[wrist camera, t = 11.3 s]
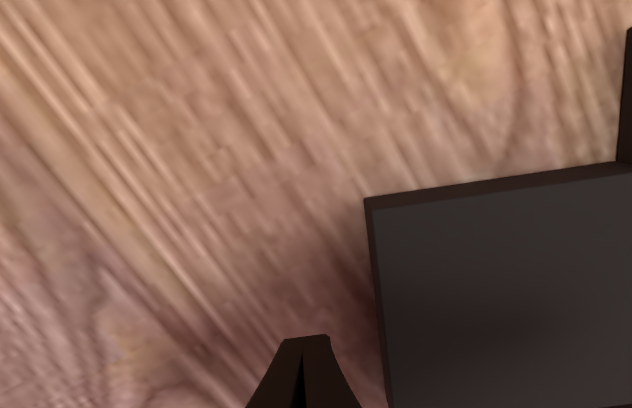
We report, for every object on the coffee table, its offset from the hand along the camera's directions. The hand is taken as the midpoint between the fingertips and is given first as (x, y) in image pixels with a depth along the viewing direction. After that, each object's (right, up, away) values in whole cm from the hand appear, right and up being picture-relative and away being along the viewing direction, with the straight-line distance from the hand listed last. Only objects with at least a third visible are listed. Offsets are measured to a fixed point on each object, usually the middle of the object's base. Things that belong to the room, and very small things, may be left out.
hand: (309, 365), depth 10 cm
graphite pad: (+7, +2, +2) cm, 8 cm away
